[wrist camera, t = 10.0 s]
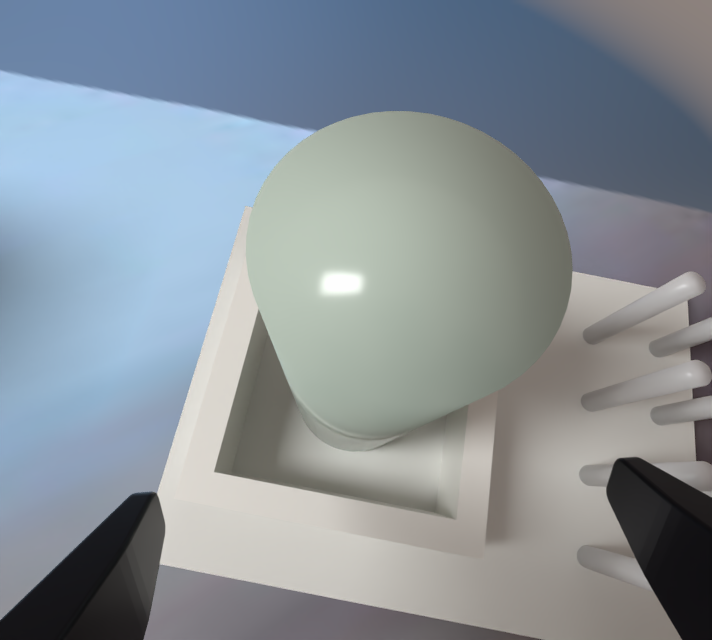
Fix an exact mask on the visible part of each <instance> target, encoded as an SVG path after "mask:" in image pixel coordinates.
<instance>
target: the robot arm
mask: <svg viewBox="0 0 712 640" xmlns="http://www.w3.org/2000/svg"><path fill="white" fill-rule="evenodd" d="M606 494H607V498H608V501H609V503H610V505H611V507H612V510H613V512H614V514H615V516H616V518H617V520H618V522H619V524H620V526H621V529H622V531H623V533H624V535H625V537H626V539H627V541H628V543H629V545H630V548H631V550H632V552H633V554H634V556H635V558H636V560H637V562H638V564H639V566H640V568H641V570H642V572H643V574H644V576H645V578H646V579H647V581H648V583H649V585H650V586H651V588H652V590H653V592H654V593H655V595H656V597H657V598H658V600H659V602H660V603H661V605H662V607H663V609H664V610H665V612H666V614H667V615H668V617H669V619H670V620H671V622H672V624H673V625H674V627H675V629H676V631H677V632H678V634H679V636H680V637H681V639H682V640H712V497H710V496H708V495H706V494H705V493H703V492H701V491H699V490H697V489H696V488H694V487H692V486H690V485H688V484H687V483H685V482H683V481H681V480H679V479H678V478H676V477H674V476H672V475H670V474H669V473H667V472H665V471H663V470H661V469H660V468H658V467H656V466H654V465H652V464H650V463H649V462H647V461H645V460H643V459H641V458H639V457H624V458H618V459H617V460H616V461H615V462H614V464H613V467H612V471H611V474H610V477H609V480H608V483H607V487H606ZM164 538H165V520H164V516H163V512H162V508H161V504H160V501H159V497H158V495H157V494H156V493H155V492H141V493H134V494H132V495H130V496H129V497H128V498H127V499H126V500H125V501H124V502H123V503H122V504H121V505H120V506H119V507H118V508H117V509H116V510H115V511H113V512H112V513H111V514H110V515H109V516H108V517H107V518H106V519H105V520H104V521H103V522H102V523H101V524H100V525H99V526H98V527H97V528H96V529H95V530H94V531H93V532H92V533H91V534H90V535H88V536H87V537H86V538H85V539H84V540H83V541H82V542H81V543H80V544H79V545H78V546H77V547H76V548H75V549H74V550H73V551H72V552H71V553H70V554H69V555H68V556H67V557H66V558H65V559H63V560H62V561H61V562H60V563H59V564H58V565H57V566H56V567H55V568H54V569H53V570H52V571H51V572H50V573H49V574H48V575H47V576H46V577H45V578H44V579H43V580H42V581H41V582H40V583H38V584H37V585H36V586H35V587H34V588H33V589H32V590H31V591H30V592H29V593H28V594H27V595H26V596H25V597H24V598H23V599H22V600H21V601H20V602H19V603H18V604H17V605H16V606H15V607H14V608H12V609H11V610H10V611H9V612H8V613H7V614H6V615H5V616H4V617H3V618H2V619H1V620H0V640H143V639H144V635H145V632H146V628H147V624H148V620H149V616H150V611H151V606H152V601H153V596H154V590H155V585H156V580H157V575H158V569H159V564H160V559H161V554H162V548H163V543H164Z"/></svg>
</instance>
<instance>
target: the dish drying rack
mask: <svg viewBox="0 0 712 640" xmlns="http://www.w3.org/2000/svg"><path fill="white" fill-rule="evenodd" d="M251 211H252V207H247V206H245V210H244V213H243V216H242V219H241V223H240V226H239V229H238V232H237V236H236V239H235V242H234V245H233V249H232V252H231V255H230V258H229V262H228V265H227V268H226V271H225V275H224V278H223V281H222V284H221V288H220V291H219V294H218V297H217V301H216V304H215V307H214V310H213V314H212V317H211V320H210V323H209V327H208V330H207V333H206V336H205V340H204V343H203V346H202V349H201V353H200V356H199V359H198V362H197V366H196V369H195V372H194V376H193V379H192V382H191V385H190V389H189V392H188V395H187V398H186V402H185V405H184V408H183V411H182V415H181V418H180V421H179V424H178V428H177V431H176V434H175V437H174V441H173V444H172V447H171V450H170V454H169V457H168V460H167V463H166V467H165V470H164V473H163V476H162V480H161V483H160V486H159V489H158V493H157V495H158V497H159V501H160V504H161V508H162V512H163V516H164V520H165V538H164V543H163V548H162V554H161V559H160V564H162V565H167V566H172V567H177V568H182V569H188V570H193V571H198V572H203V573H208V574H213V575H218V576H223V577H228V578H233V579H238V580H243V581H249V582H254V583H259V584H264V585H269V586H274V587H279V588H284V589H289V590H294V591H299V592H304V593H310V594H315V595H320V596H325V597H330V598H335V599H340V600H345V601H350V602H355V603H360V604H365V605H371V606H376V607H381V608H386V609H391V610H396V611H401V612H406V613H411V614H416V615H421V616H426V617H432V618H437V619H442V620H447V621H452V622H457V623H462V624H467V625H472V626H477V627H482V628H487V629H493V630H498V631H503V632H508V633H513V634H518V635H523V636H528V637H533V638H538V639H543V640H682V639H681V637H680V636H679V634H678V632H677V631H676V629H675V627H674V625H673V624H672V622H671V620H670V619H669V617H668V615H667V614H666V612H665V610H664V609H663V607H662V605H661V603H660V602H659V600H658V598H657V597H656V595H655V593H654V592H653V590H652V588H651V586H650V585H649V583H648V581H647V579H646V578H645V576H644V574H643V572H642V570H641V568H640V566H639V564H638V562H637V560H636V558H635V556H634V554H633V552H632V550H631V548H630V545H629V543H628V541H627V539H626V537H625V535H624V533H623V531H622V529H621V526H620V524H619V522H618V520H617V518H616V516H615V514H614V512H613V510H612V507H611V505H610V503H609V501H608V498H607V494H606V487H607V483H608V480H609V477H610V474H611V471H612V467H613V464H614V462H615V461H616V460H617V459H618V458H624V457H639V458H641V459H643V460H645V461H647V462H649V463H650V464H652V465H654V466H656V467H658V468H660V469H661V470H663V471H665V472H667V473H669V474H670V475H672V476H674V477H676V478H678V479H679V480H681V481H683V482H685V483H687V484H688V485H690V486H692V487H694V488H696V489H697V490H699V491H701V492H703V493H705V494H706V495H708V496H710V497H712V465H711V464H709V463H708V462H705V461H696V451H695V432H694V421H697V420H704V419H711V418H712V395H711V396H706V397H701V398H696V399H693V394H692V389H693V388H697V387H701V386H706V385H708V384H709V383H710V382H711V379H712V373H711V370H710V368H709V367H708V366H707V365H706V364H705V363H704V362H702V361H700V360H692V361H691V357H690V347H693V346H696V345H699V344H702V343H705V342H708V341H711V340H712V317H710V318H708V319H705V320H703V321H700V322H698V323H696V324H693V325H691V326H689V319H688V300H689V299H691V298H693V297H695V296H697V295H700V294H702V293H703V292H704V291H705V289H706V283H705V281H704V279H703V278H702V277H701V276H700V275H699V274H697V273H695V272H686V273H685V274H683V275H681V276H679V277H677V278H676V279H674V280H672V281H670V282H668V283H667V284H665V285H663V286H661V287H659V288H653V287H648V286H643V285H638V284H633V283H628V282H623V281H618V280H613V279H608V278H603V277H598V276H593V275H588V274H583V273H578V272H572V286H571V293H570V297H569V302H568V306H567V310H566V313H565V315H564V318H563V320H562V323H561V326H560V328H559V330H558V331H557V333H556V335H555V337H554V338H553V340H552V342H551V344H550V345H549V347H548V348H547V349H546V350H545V352H544V353H543V354H542V355H541V357H540V358H539V359H538V360H537V361H536V362H535V363H534V364H533V365H532V366H531V367H530V368H529V369H528V370H527V371H526V372H525V373H524V374H522V375H521V376H520V377H518V378H517V379H515V380H514V381H512V382H511V383H510V384H508V385H507V386H505V387H504V388H502V389H500V390H498V391H496V392H493V393H491V394H489V395H487V396H485V397H483V398H481V399H479V400H477V401H475V402H473V403H470V404H468V405H466V406H464V407H462V408H460V409H458V410H456V411H453V412H451V413H449V414H447V415H445V416H443V417H441V418H439V419H436V420H434V421H432V422H430V423H428V424H426V425H424V426H422V427H419V428H417V429H415V430H413V431H411V432H409V433H407V434H404V435H402V436H400V437H398V438H396V439H394V440H392V441H390V442H387V443H385V444H383V445H381V446H379V447H377V448H374V449H371V450H366V451H358V452H352V451H344V450H340V449H337V448H334V447H331V446H329V445H327V444H326V443H324V442H322V441H321V440H320V439H318V438H317V437H316V436H315V435H314V434H313V433H312V432H311V431H310V429H309V428H308V427H307V425H306V424H305V422H304V420H303V418H302V416H301V414H300V411H299V409H298V406H297V404H296V401H295V399H294V396H293V394H292V391H291V389H290V386H289V384H288V381H287V379H286V376H285V374H284V371H283V369H282V366H281V364H280V361H279V359H278V356H277V354H276V351H275V349H274V346H273V344H272V341H271V338H270V336H269V333H268V331H267V328H266V326H265V323H264V321H263V318H262V316H261V313H260V311H259V308H258V306H257V303H256V301H255V298H254V296H253V292H252V288H251V285H250V281H249V277H248V270H247V262H246V235H247V229H248V224H249V218H250V214H251Z"/></svg>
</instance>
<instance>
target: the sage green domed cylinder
mask: <svg viewBox="0 0 712 640" xmlns="http://www.w3.org/2000/svg"><path fill="white" fill-rule="evenodd" d="M246 262H247V270H248V277H249V281H250V285H251V288H252V292H253V296H254V298H255V301H256V303H257V306H258V308H259V311H260V313H261V316H262V318H263V321H264V323H265V326H266V328H267V331H268V333H269V336H270V338H271V341H272V344H273V346H274V349H275V351H276V354H277V356H278V359H279V361H280V364H281V366H282V369H283V371H284V374H285V376H286V379H287V381H288V384H289V386H290V389H291V391H292V394H293V396H294V399H295V401H296V404H297V406H298V409H299V411H300V414H301V416H302V418H303V420H304V422H305V424H306V425H307V427H308V428H309V429H310V431H311V432H312V433H313V434H314V435H315V436H316V437H317V438H318V439H320V440H321V441H322V442H324V443H326V444H327V445H329V446H331V447H334V448H337V449H340V450H344V451H352V452H358V451H366V450H371V449H374V448H377V447H379V446H381V445H383V444H385V443H387V442H390V441H392V440H394V439H396V438H398V437H400V436H402V435H404V434H407V433H409V432H411V431H413V430H415V429H417V428H419V427H422V426H424V425H426V424H428V423H430V422H432V421H434V420H436V419H439V418H441V417H443V416H445V415H447V414H449V413H451V412H453V411H456V410H458V409H460V408H462V407H464V406H466V405H468V404H470V403H473V402H475V401H477V400H479V399H481V398H483V397H485V396H487V395H489V394H491V393H493V392H496V391H498V390H500V389H502V388H504V387H505V386H507V385H508V384H510V383H511V382H512V381H514V380H515V379H517V378H518V377H520V376H521V375H522V374H524V373H525V372H526V371H527V370H528V369H529V368H530V367H531V366H532V365H533V364H534V363H535V362H536V361H537V360H538V359H539V358H540V357H541V355H542V354H543V353H544V352H545V350H546V349H547V348H548V347H549V345H550V344H551V342H552V340H553V338H554V337H555V335H556V333H557V331H558V330H559V328H560V326H561V323H562V320H563V318H564V315H565V313H566V310H567V306H568V302H569V297H570V293H571V286H572V272H573V270H572V255H571V248H570V243H569V239H568V234H567V231H566V228H565V225H564V222H563V219H562V216H561V214H560V212H559V210H558V208H557V206H556V204H555V202H554V200H553V198H552V196H551V195H550V193H549V192H548V190H547V189H546V187H545V186H544V184H543V183H542V181H541V180H540V179H539V178H538V177H537V176H536V174H535V173H534V172H533V171H532V170H531V169H530V167H529V166H528V165H526V164H525V163H524V162H523V161H522V160H521V159H520V158H519V157H518V156H517V155H516V154H515V153H513V152H512V151H511V150H510V149H508V148H507V147H505V146H504V145H503V144H502V143H500V142H499V141H497V140H495V139H494V138H492V137H490V136H488V135H487V134H485V133H483V132H481V131H479V130H477V129H475V128H472V127H471V126H468V125H466V124H464V123H461V122H458V121H455V120H452V119H449V118H445V117H441V116H436V115H432V114H427V113H418V112H410V111H387V112H376V113H369V114H364V115H359V116H355V117H351V118H348V119H345V120H342V121H339V122H336V123H333V124H331V125H329V126H327V127H325V128H323V129H321V130H319V131H317V132H315V133H314V134H312V135H310V136H309V137H307V138H306V139H304V140H303V141H301V142H300V143H299V144H298V145H296V146H295V147H294V148H293V149H292V150H290V151H289V152H288V153H287V154H286V155H285V156H284V157H283V158H282V159H281V160H280V162H279V163H278V164H277V165H276V166H275V167H274V169H273V170H272V171H271V173H270V174H269V176H268V177H267V179H266V180H265V181H264V183H263V185H262V187H261V189H260V191H259V193H258V195H257V197H256V200H255V203H254V205H253V208H252V211H251V214H250V218H249V224H248V229H247V235H246Z"/></svg>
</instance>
